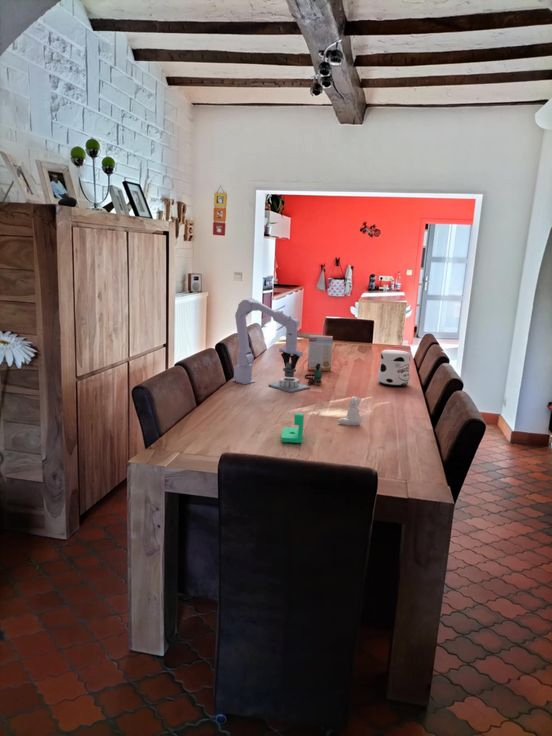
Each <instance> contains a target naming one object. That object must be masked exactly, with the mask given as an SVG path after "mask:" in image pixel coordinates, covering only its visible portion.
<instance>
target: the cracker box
mask: <svg viewBox="0 0 552 736" xmlns="http://www.w3.org/2000/svg"><path fill="white" fill-rule="evenodd" d="M333 337H334V336H333V335H318V334H316V335H315V334H309V337H308V351H307V355H308V356H307V371H310V370H316V367H315V366H317V365H316V364H320V368H321V372H327V371H332V359H333V357H332V355H333Z"/></svg>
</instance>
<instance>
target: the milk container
mask: <svg viewBox="0 0 552 736" xmlns="http://www.w3.org/2000/svg"><path fill="white" fill-rule="evenodd" d="M410 360H411V353H410V352H409V351H405V350H400V349H383V350H381V353H380V364H379V368H378V371H377V381H378V382H379V383H381V384H383V385H386V386H390V387H405V386H406V385H409V382H410V379H411V375H410V364H411V361H410Z"/></svg>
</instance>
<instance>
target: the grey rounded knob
mask: <svg viewBox="0 0 552 736" xmlns="http://www.w3.org/2000/svg"><path fill="white" fill-rule="evenodd" d="M282 371H283V372H284V378H285V377H292V378H295V377H294V376H295V373H296V372H297V368H295V369H291V361H289V362H287V363H286V367H283V368H282Z"/></svg>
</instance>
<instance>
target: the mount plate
mask: <svg viewBox="0 0 552 736" xmlns="http://www.w3.org/2000/svg"><path fill="white" fill-rule="evenodd" d="M270 386H271V387H270ZM268 387H270V388H273V387H274V388H273V389H277V388H278V389H277V390H280V389H281V390H282V391H285V392H287V391H288V393H291V394H292V393H297V392H301V391H303V390H304V389H305V390H308V388H309V389H310V386H308V385H305V384H301V383H299V386H298V387H296V388H285V387H281V386H280V385H279V381H278V382H273V383H268ZM300 390H301V391H300ZM305 390H304V391H305Z"/></svg>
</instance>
